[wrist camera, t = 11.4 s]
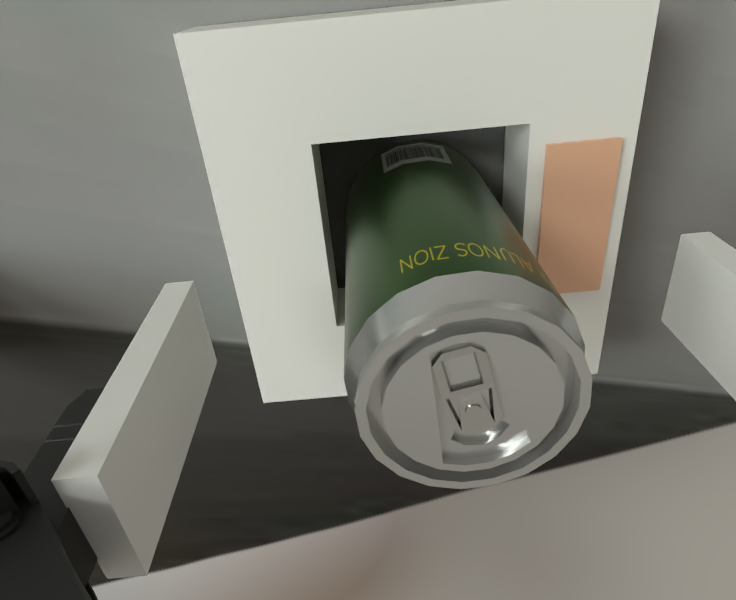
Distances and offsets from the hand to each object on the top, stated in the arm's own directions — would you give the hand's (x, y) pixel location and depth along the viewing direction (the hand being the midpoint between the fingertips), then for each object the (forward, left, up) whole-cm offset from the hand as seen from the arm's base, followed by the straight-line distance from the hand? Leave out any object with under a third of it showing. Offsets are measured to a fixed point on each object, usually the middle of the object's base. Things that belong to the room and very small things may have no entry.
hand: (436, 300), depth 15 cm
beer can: (0, 0, -8) cm, 8 cm away
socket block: (0, 0, -8) cm, 8 cm away
